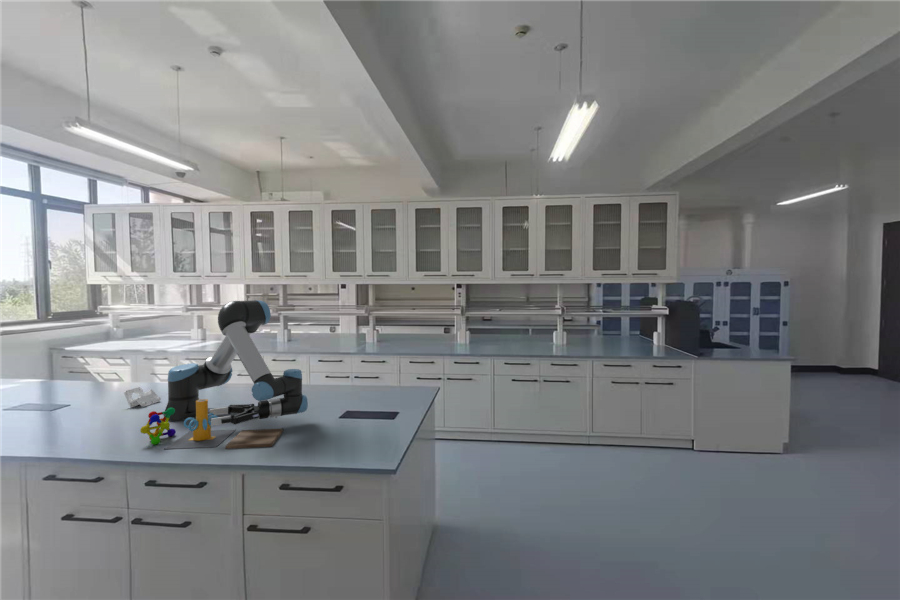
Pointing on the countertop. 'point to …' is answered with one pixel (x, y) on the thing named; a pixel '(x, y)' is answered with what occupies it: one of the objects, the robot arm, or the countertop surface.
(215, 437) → the mat
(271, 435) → the board
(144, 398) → the mounting bracket
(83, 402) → the countertop surface
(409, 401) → the countertop surface
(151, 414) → the molecular model
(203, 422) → the cylinder
